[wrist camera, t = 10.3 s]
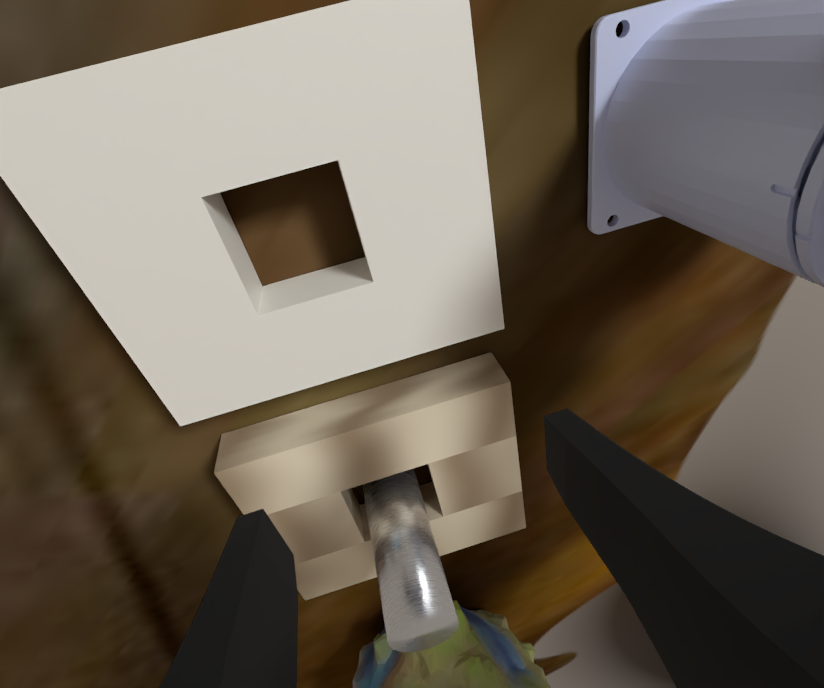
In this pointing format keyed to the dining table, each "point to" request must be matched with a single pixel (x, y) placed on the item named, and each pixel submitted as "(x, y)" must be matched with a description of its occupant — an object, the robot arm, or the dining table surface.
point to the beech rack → (382, 467)
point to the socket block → (256, 161)
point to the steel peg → (408, 565)
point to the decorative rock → (454, 659)
